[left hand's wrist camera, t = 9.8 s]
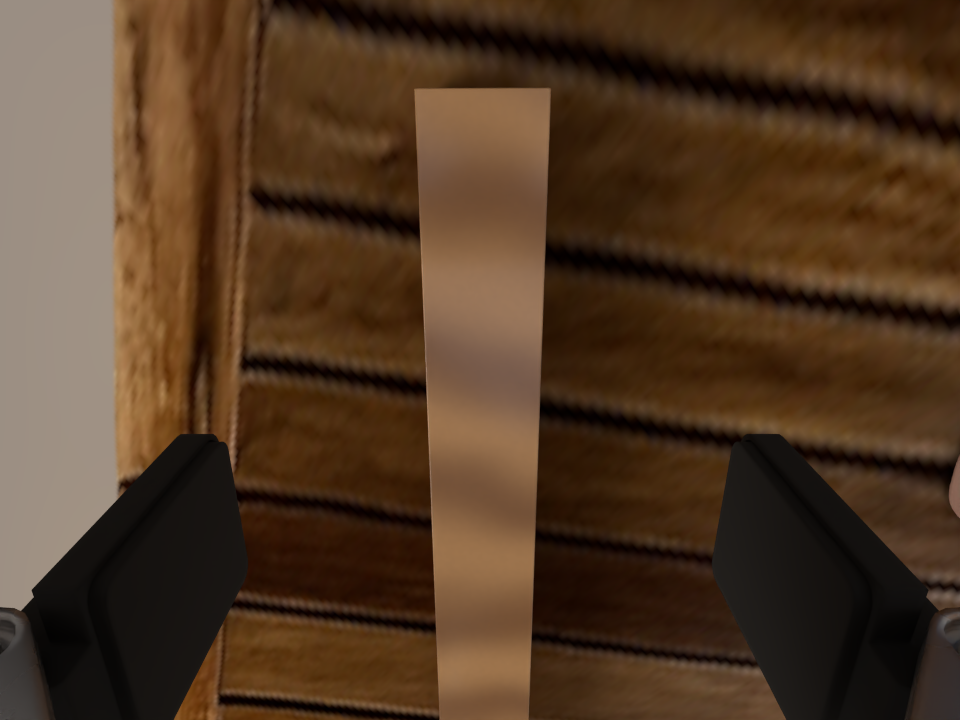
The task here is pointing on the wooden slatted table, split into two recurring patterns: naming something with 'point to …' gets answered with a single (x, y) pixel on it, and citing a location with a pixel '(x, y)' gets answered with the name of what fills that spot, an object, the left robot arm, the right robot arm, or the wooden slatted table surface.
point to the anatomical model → (955, 489)
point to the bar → (483, 381)
